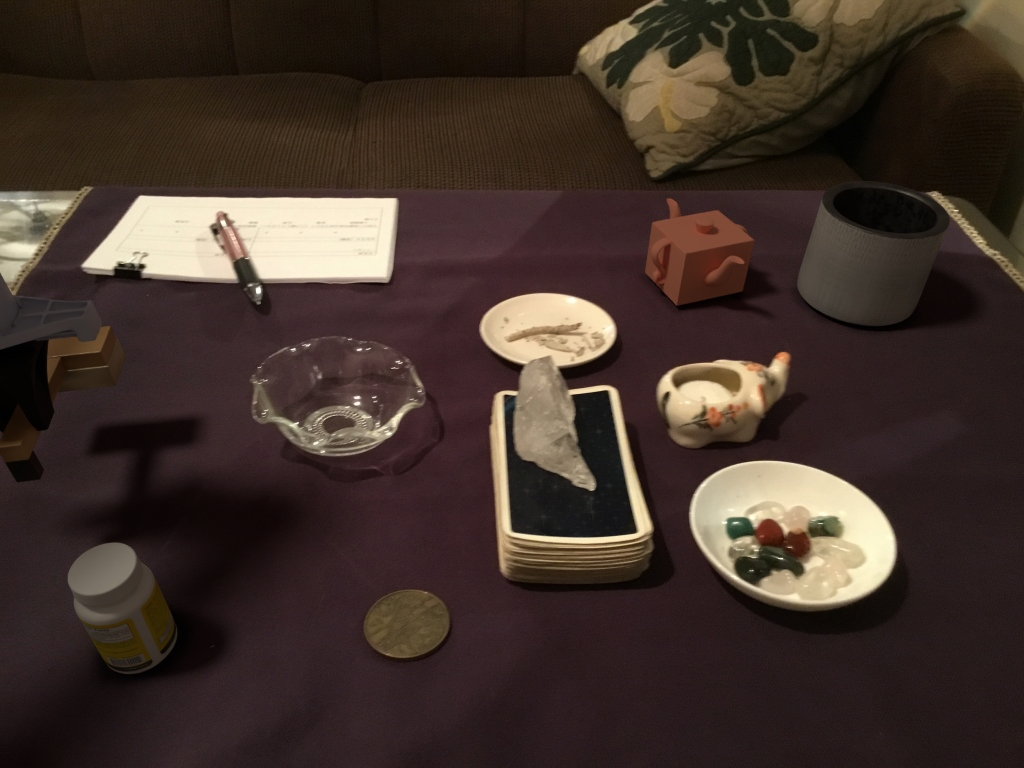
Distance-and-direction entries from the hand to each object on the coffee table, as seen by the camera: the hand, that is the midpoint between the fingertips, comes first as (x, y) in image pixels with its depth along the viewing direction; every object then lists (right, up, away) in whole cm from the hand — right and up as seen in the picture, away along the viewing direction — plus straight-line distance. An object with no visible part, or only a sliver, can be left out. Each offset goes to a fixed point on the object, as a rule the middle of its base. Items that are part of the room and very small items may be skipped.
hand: (30, 422), depth 56 cm
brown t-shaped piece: (0, 0, +4) cm, 4 cm away
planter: (+72, +12, +31) cm, 80 cm away
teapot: (+55, +14, +33) cm, 65 cm away
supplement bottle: (+9, -15, -3) cm, 18 cm away
